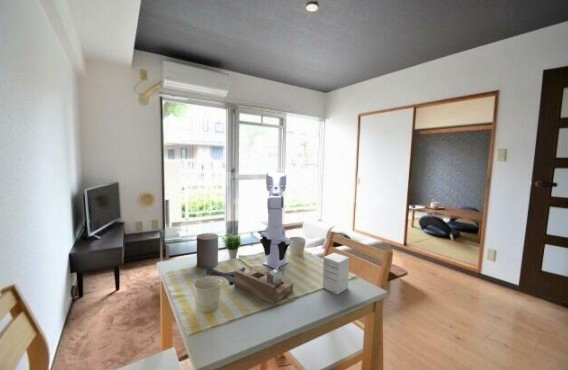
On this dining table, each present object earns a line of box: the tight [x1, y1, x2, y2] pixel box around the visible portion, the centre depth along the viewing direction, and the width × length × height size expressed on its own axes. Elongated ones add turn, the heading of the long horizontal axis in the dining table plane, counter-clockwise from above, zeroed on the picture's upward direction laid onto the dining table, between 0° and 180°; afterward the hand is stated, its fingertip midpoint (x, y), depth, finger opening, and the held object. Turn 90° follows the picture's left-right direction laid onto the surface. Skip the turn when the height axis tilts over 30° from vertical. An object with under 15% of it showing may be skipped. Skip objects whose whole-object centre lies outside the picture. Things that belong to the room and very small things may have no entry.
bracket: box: [206, 266, 246, 285], centre depth 113 cm, size 14×15×3 cm
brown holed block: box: [233, 268, 294, 305], centre depth 101 cm, size 12×20×6 cm, turn 52°
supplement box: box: [322, 252, 350, 295], centre depth 103 cm, size 7×7×13 cm
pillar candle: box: [196, 232, 219, 270], centre depth 122 cm, size 10×10×15 cm
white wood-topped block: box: [267, 267, 285, 288], centre depth 99 cm, size 6×3×8 cm, turn 142°
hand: (274, 257), depth 109 cm, fingers open, 7 cm apart
